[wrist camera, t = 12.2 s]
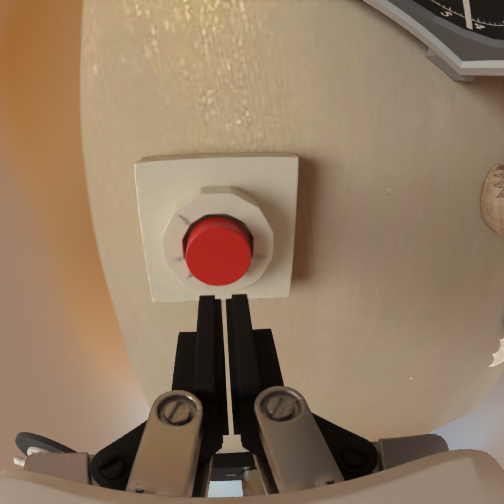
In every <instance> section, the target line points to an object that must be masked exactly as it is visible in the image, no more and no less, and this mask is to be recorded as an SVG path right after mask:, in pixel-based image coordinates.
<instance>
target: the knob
mask: <svg viewBox="0 0 504 504" xmlns="http://www.w3.org/2000/svg"><path fill="white" fill-rule="evenodd" d="M241 480H242V489H243V497H245V496H258V495H266V494H265V491H264V488H263V485H262V482H261V479H260V476H259V473H258V470H257V468H254V469H249V470H246V471H244V472H242V473H241Z"/></svg>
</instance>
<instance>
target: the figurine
mask: <svg viewBox="0 0 504 504" xmlns="http://www.w3.org/2000/svg"><path fill="white" fill-rule="evenodd" d="M481 214H482V217H483V220H484V222H485V223H486V224H487V225H488V226H489V227H490V228H491V229H492V230H493V231H495V232H496V233H498V234H500V235H502V236H504V165H503V164H502V165H500V164H498V165H495V166H494V167H493V168H492V169H491V170H490V172H489V173H488V175H487V177H486V179H485V182H484V185H483V190H482V195H481Z"/></svg>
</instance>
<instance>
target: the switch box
mask: <svg viewBox="0 0 504 504" xmlns="http://www.w3.org/2000/svg"><path fill="white" fill-rule="evenodd" d="M134 170H135V182H136V192H137V202H138V211H139V219H140V227H141V234H142V241H143V248H144V254H145V261H146V267H147V273H148V278H149V284H150V289H151V295H152V300H153V302H197V301H199V296H200V295H215V299H221V301H224V300H226V299H231V298H232V294H247V297H248V299H265V298H281V297H290V290H291V278H292V266H293V253H294V239H295V224H296V208H297V191H298V171H299V157H297V156H295V155H293V154H291V153H208V154H187V155H171V156H158V157H146V158H142V159H140V160H138V161H137V162H135V163H134ZM212 217H225V218H228V219H231V220H233V221H235V222H237V223H238V224H239V225H240V226H241V227H242V228H243V229H244V231H245V233H246V235H247V237H248V241H249V246H250V250H251V262H250V266H249V268H248V270H247V271H246V273H245V274H244V275H243V276H242V277H241V278H240V279H239V280H237V281H236V282H234V283H232V284H229V285H224V286H212V285H208V284H205V283H203V282H201V281H199V280H198V279H196V278H195V277H194V276H193V275H192V274H191V272H190V271H189V269H188V267H187V264H186V259H185V254H186V248H187V243H188V239H189V236H190V233H191V231H192V230H193V229H194V227H195V226H196V225H197V224H199V223H200V222H201V221H203V220H205V219H208V218H212Z"/></svg>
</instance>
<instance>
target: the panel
mask: <svg viewBox="0 0 504 504" xmlns="http://www.w3.org/2000/svg"><path fill="white" fill-rule="evenodd" d="M254 468H257V466H256V463H255V460H254V457H253V453H251V452H246V453H229V454H214V455H213V463H212V470H211V476H210V481H232V480H241V473H242V472H244V471H246V470H249V469H254Z"/></svg>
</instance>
